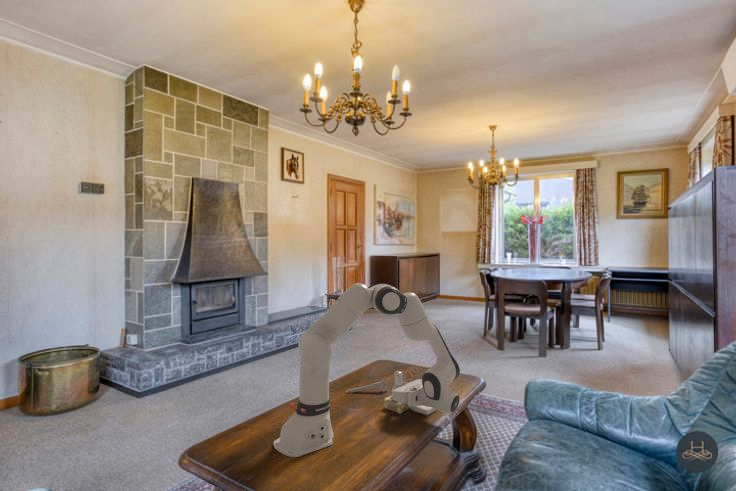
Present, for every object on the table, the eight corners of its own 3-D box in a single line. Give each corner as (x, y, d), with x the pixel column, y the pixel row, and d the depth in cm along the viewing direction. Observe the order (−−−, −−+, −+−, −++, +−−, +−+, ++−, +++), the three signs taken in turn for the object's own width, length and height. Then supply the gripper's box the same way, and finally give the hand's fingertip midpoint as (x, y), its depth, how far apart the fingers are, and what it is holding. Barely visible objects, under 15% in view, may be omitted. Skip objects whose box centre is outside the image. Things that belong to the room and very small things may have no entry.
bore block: (400, 413, 167) (400, 404, 167) (384, 407, 173) (384, 398, 173) (412, 407, 174) (412, 398, 174) (397, 401, 180) (397, 392, 180)
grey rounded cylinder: (399, 408, 171) (399, 374, 171) (392, 406, 173) (392, 372, 173) (404, 405, 174) (404, 372, 174) (398, 403, 176) (397, 370, 176)
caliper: (387, 391, 193) (386, 378, 193) (387, 392, 192) (387, 379, 192) (345, 392, 192) (345, 379, 192) (345, 393, 191) (345, 380, 191)
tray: (426, 415, 165) (426, 410, 165) (409, 409, 171) (409, 404, 171) (438, 409, 172) (438, 404, 172) (421, 403, 178) (421, 398, 178)
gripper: (436, 379, 172) (411, 372, 182) (408, 392, 157) (382, 384, 167) (436, 394, 172) (411, 386, 182) (408, 408, 157) (382, 399, 167)
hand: (397, 385), depth 174 cm, fingers closed on grey rounded cylinder, 4 cm apart
